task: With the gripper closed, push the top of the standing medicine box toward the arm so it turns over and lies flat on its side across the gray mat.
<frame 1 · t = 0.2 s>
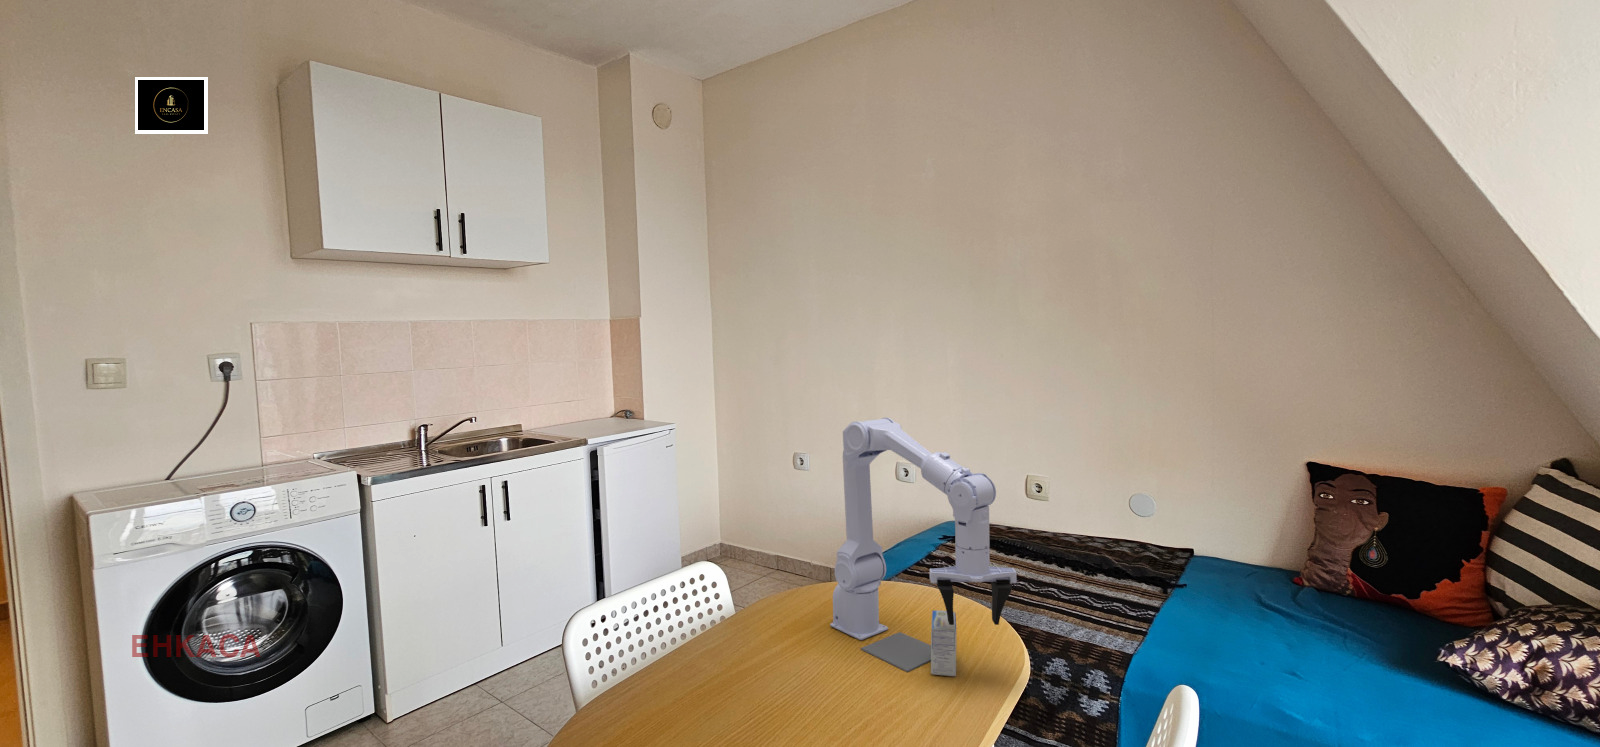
hand: (973, 622, 117), 10 cm above the table, fingers open, 7 cm apart
gray mat: (903, 651, 129), on the table
medicine box: (942, 666, 123), on the table, touching gray mat
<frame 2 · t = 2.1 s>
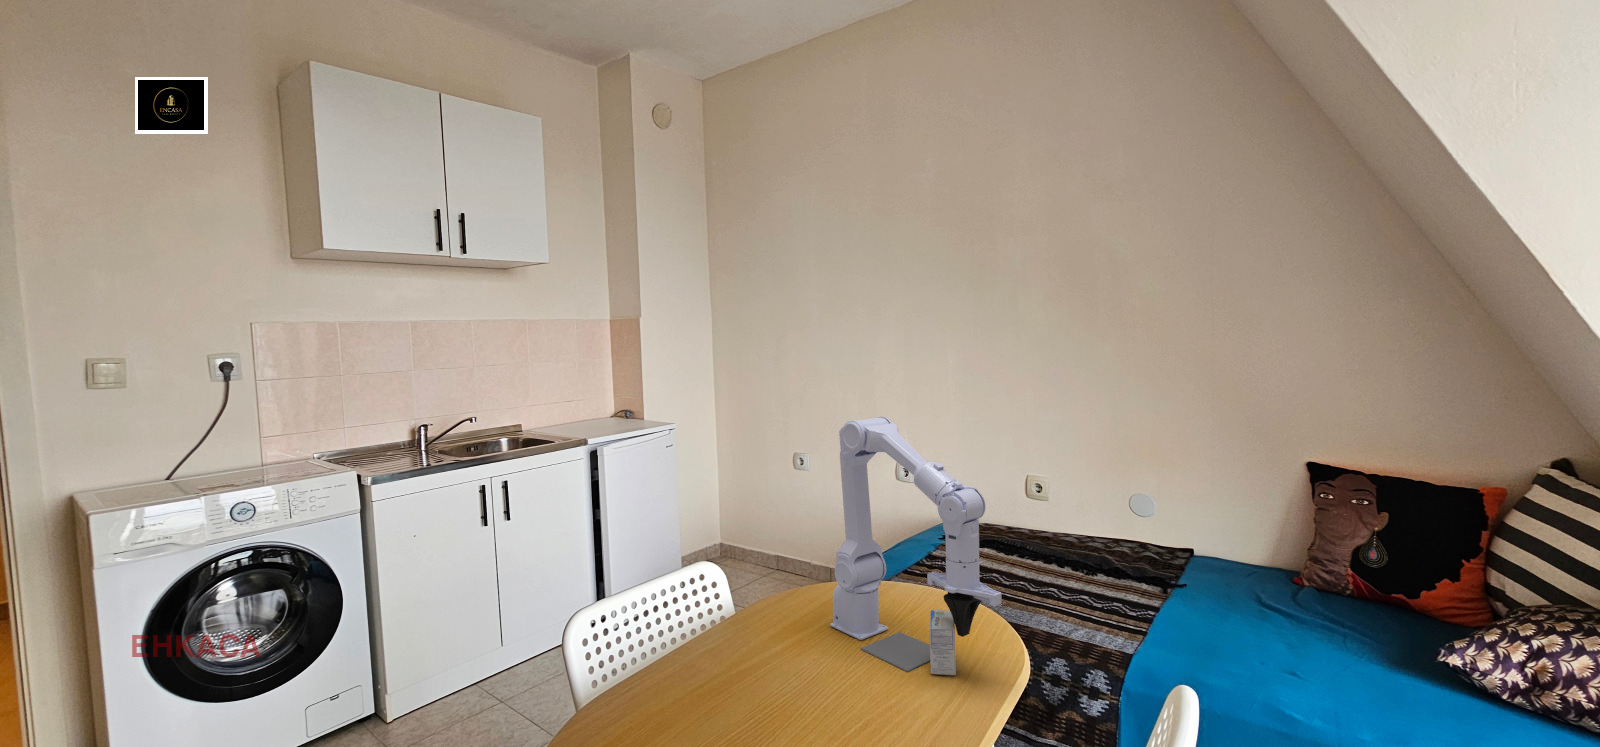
hand: (963, 634, 119), 7 cm above the table, fingers closed
medicine box: (943, 665, 123), on the table, touching gray mat, gripper
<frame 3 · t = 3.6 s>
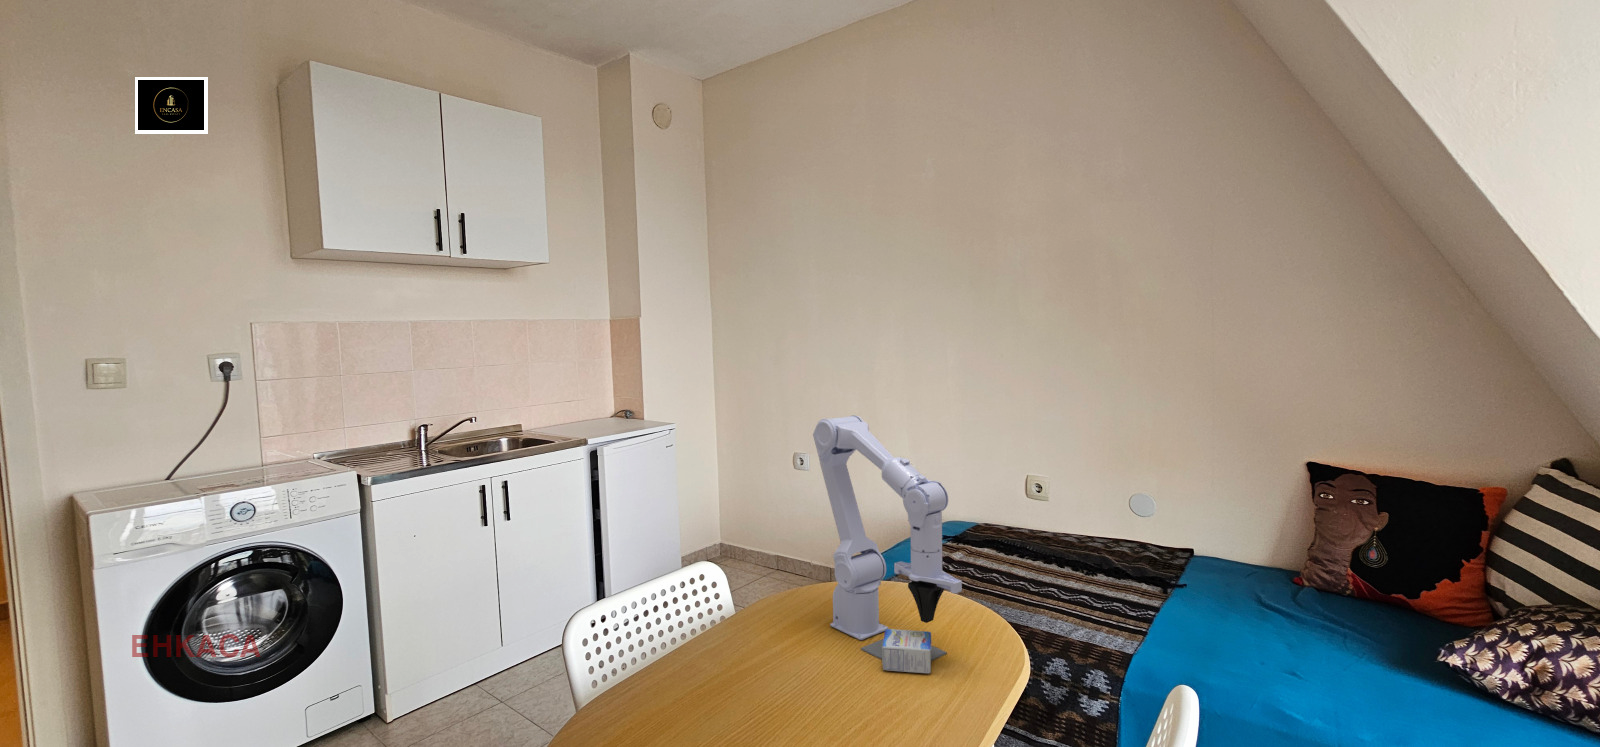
hand: (927, 620, 126), 7 cm above the table, fingers closed
medicine box: (932, 652, 123), point 2 cm above the table, touching gray mat
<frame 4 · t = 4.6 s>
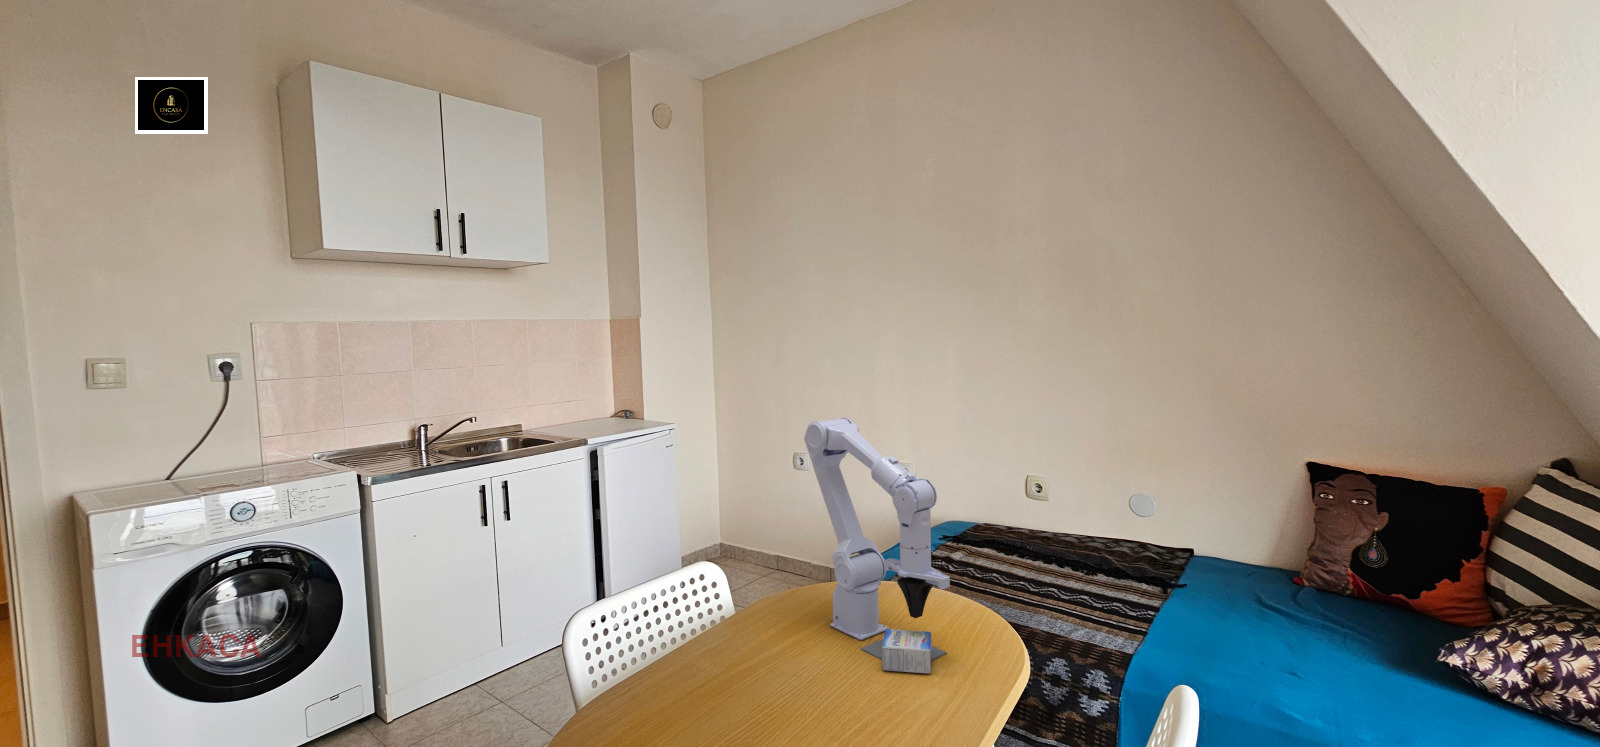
hand: (916, 616, 128), 7 cm above the table, fingers closed
nothing on the table moved.
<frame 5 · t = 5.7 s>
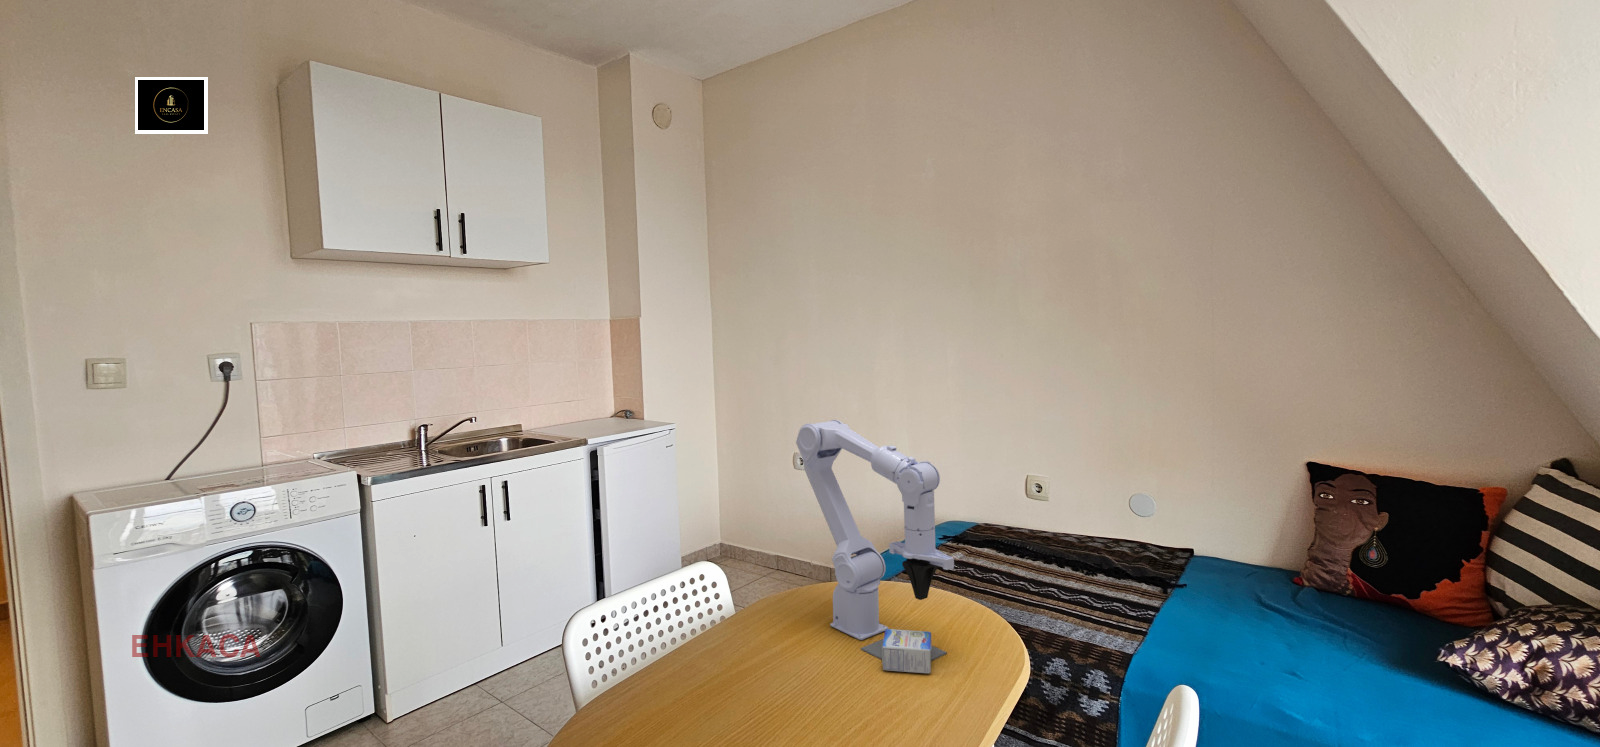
hand: (921, 597, 129), 10 cm above the table, fingers closed
nothing on the table moved.
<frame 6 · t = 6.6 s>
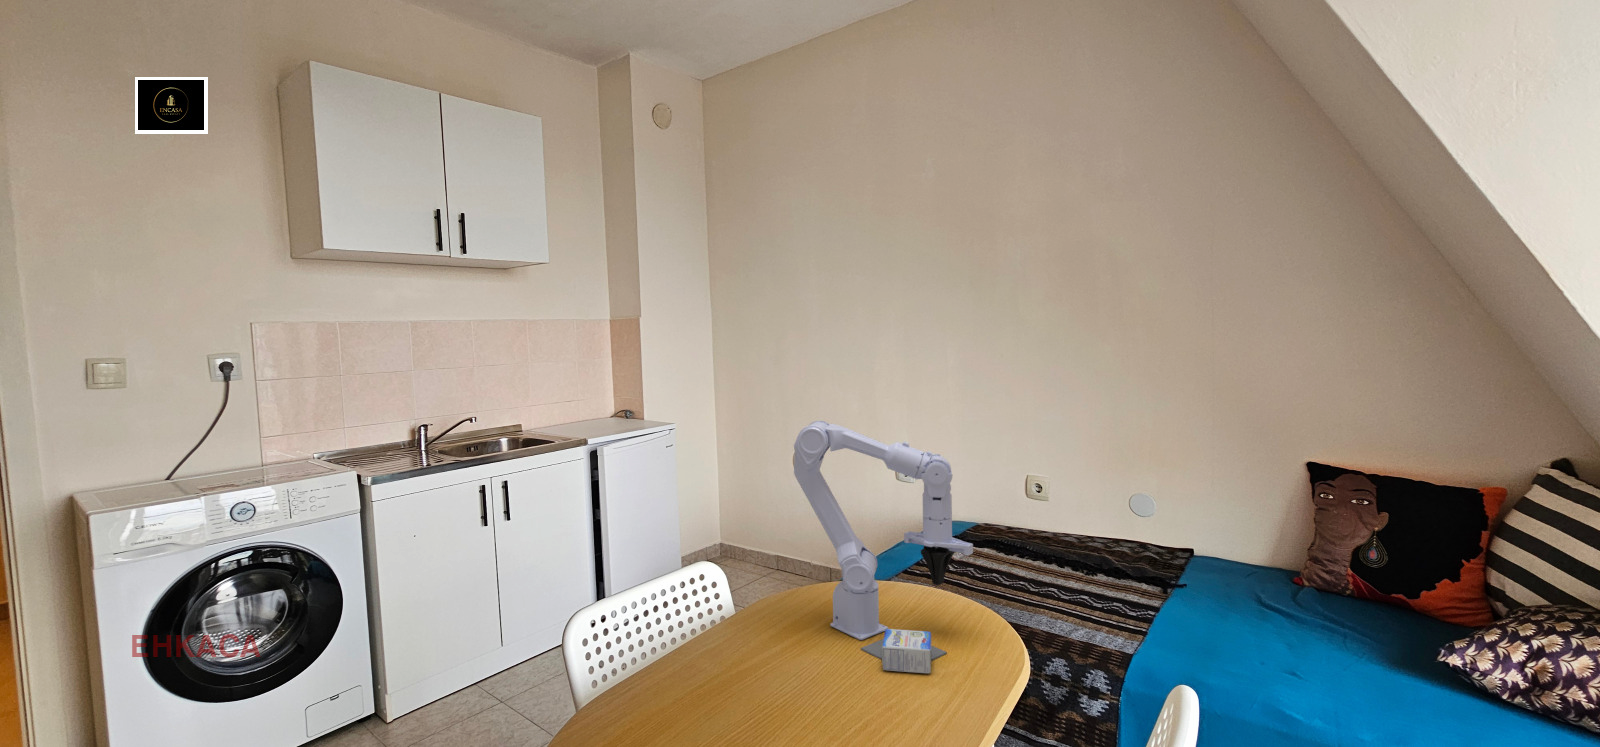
hand: (938, 583, 136), 10 cm above the table, fingers closed
nothing on the table moved.
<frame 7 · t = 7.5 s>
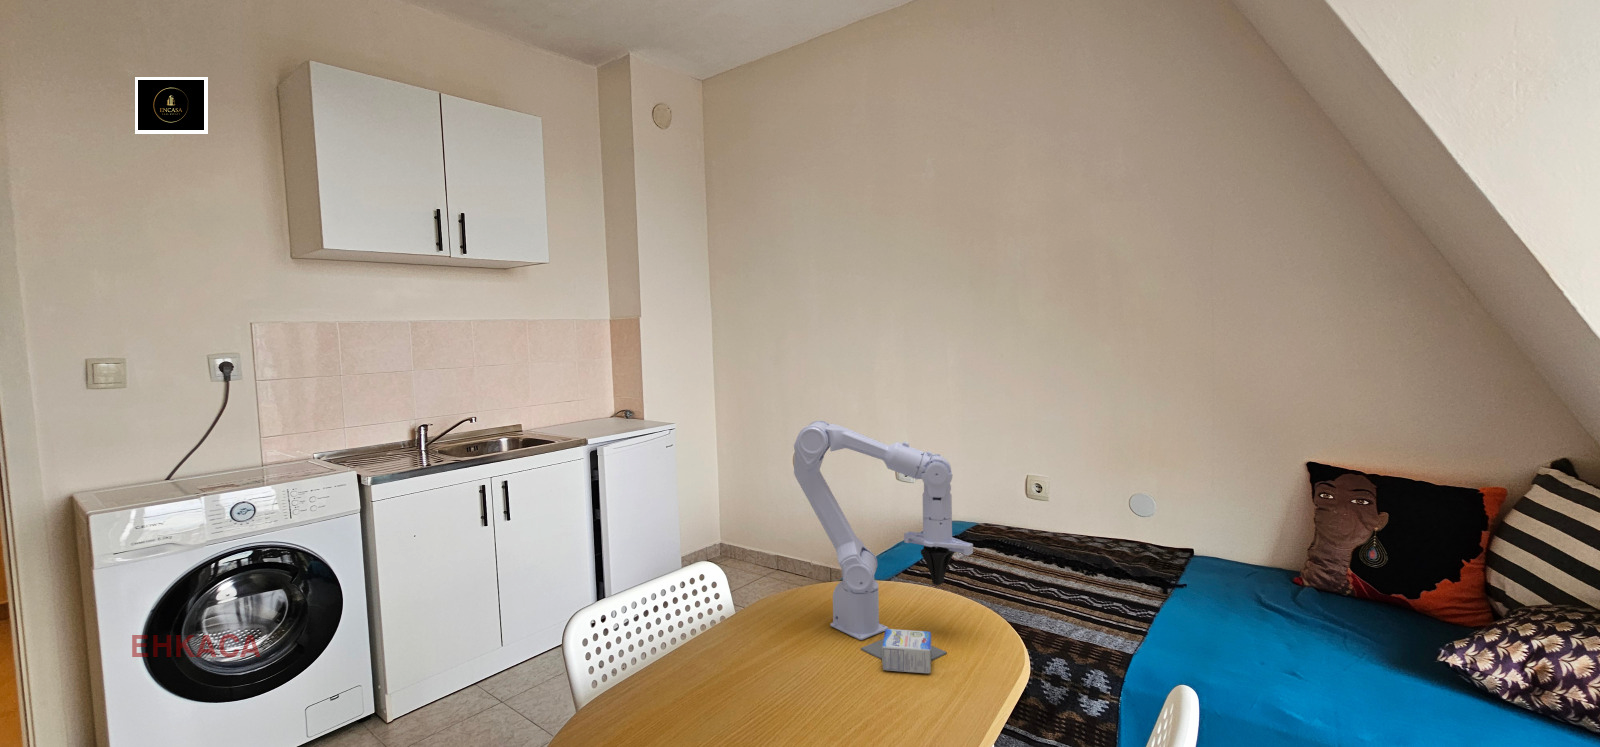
hand: (938, 583, 136), 10 cm above the table, fingers closed
nothing on the table moved.
at the end: medicine box tilted 89°; medicine box inside the target area (1.4 cm from its centre), point 2.4 cm above the table; the gripper is holding nothing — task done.
